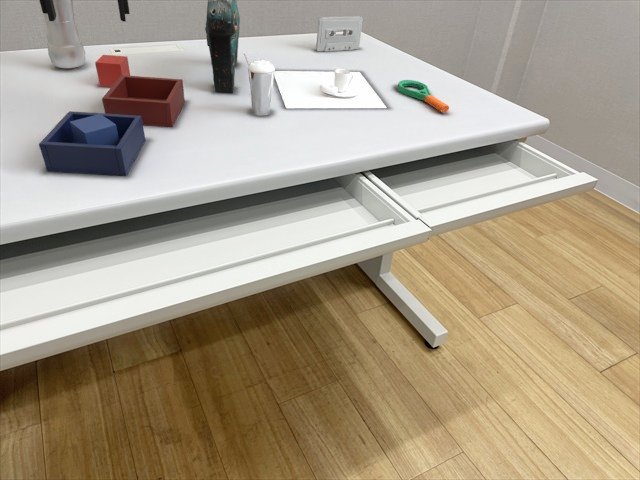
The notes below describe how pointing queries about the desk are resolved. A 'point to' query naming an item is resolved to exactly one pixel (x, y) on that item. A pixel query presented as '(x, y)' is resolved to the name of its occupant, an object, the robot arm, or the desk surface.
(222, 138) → the desk surface
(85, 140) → the blue block
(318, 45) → the cassette
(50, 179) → the desk surface
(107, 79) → the red block
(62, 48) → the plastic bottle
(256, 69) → the milkshake
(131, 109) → the red bin
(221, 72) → the power drill
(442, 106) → the magnifying glass
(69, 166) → the blue bin
